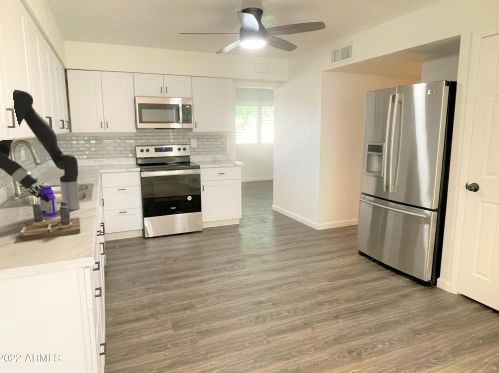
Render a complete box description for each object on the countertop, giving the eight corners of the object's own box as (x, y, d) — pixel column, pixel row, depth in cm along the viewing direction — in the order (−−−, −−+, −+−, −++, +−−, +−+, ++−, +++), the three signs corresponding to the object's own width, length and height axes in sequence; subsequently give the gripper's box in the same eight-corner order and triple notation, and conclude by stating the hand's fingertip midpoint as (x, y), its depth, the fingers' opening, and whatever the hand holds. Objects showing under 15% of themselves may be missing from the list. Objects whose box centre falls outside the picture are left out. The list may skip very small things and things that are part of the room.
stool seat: (26, 226, 171) (24, 203, 169) (79, 220, 182) (77, 198, 180) (20, 240, 150) (17, 214, 148) (80, 232, 161) (78, 208, 159)
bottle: (59, 214, 185) (55, 182, 181) (53, 216, 179) (50, 184, 176) (46, 214, 184) (42, 182, 181) (39, 217, 179) (35, 184, 176)
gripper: (22, 175, 169) (50, 197, 173) (36, 171, 183) (62, 191, 187) (12, 185, 170) (40, 208, 173) (27, 180, 184) (52, 201, 187)
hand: (51, 199), depth 180 cm, fingers closed on bottle, 5 cm apart
